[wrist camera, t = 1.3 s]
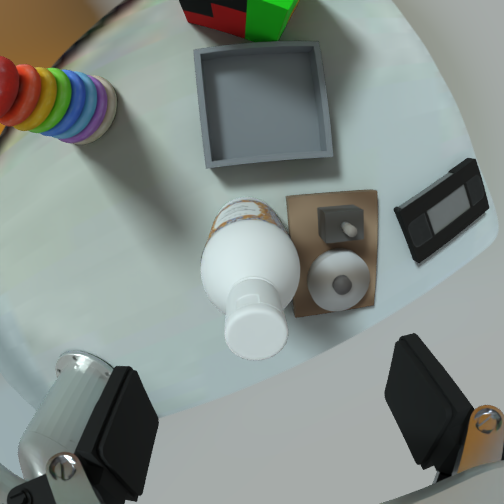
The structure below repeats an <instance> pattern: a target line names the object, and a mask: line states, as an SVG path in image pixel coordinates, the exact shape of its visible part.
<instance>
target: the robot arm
mask: <svg viewBox="0 0 504 504" xmlns="http://www.w3.org/2000/svg"><path fill="white" fill-rule="evenodd" d="M55 370H56V375H57V380H56V381H55V383H54V384H53V386H52V387H51V389H50V391H49V392H48V394H47V395H46V397H45V398H44V400H43V402H42V403H41V405H40V407H39V408H38V410H37V412H36V413H35V415H34V417H33V418H32V420H31V422H30V423H29V425H28V427H27V428H26V430H25V432H24V434H23V436H22V437H21V440H20V442H19V446H18V457H19V462H20V466H21V470H22V473H23V477H24V479H22V478H20V477H19V476H17V475H15V474H14V473H12V472H11V471H10V470H8V469H7V468H6V467H5V466H3V465H2V464H1V463H0V504H124V503H125V500H130V501H135V502H137V499H138V496H140V495H142V493H143V489H144V485H145V480H146V476H147V471H148V467H149V462H150V458H151V454H152V449H153V445H154V440H155V437H156V433H157V429H158V424H159V422H158V416H157V414H156V412H155V410H154V408H153V406H152V404H151V402H150V400H149V398H148V395H147V393H146V391H145V389H144V387H143V384H142V382H141V380H140V377H139V375H138V373H137V371H136V370H133V369H132V368H131V367H130V366H116V367H115V368H114V369H113V368H111V367H110V366H109V365H108V364H107V363H105V362H104V361H102V360H101V359H99V358H97V357H95V356H93V355H91V354H88V353H85V352H81V351H68V352H66V353H63V354H62V355H61V356H60V358H59V359H58V360H57V363H56V367H55ZM385 399H386V402H387V404H388V406H389V408H390V410H391V412H392V414H393V416H394V418H395V420H396V422H397V424H398V426H399V428H400V430H401V432H402V434H403V437H404V439H405V441H406V443H407V445H408V447H409V449H410V451H411V454H412V456H413V458H414V460H415V462H416V463H417V464H418V465H420V464H421V467H422V469H423V470H424V469H427V468H429V467H431V466H435V468H436V471H437V473H436V476H435V479H434V481H433V484H432V485H430V486H428V487H425V488H423V489H420V490H418V491H415V492H412V493H410V494H407V495H404V496H401V497H398V498H396V499H393V500H390V501H387V502H384V503H380V504H504V414H503V413H502V412H501V410H500V409H498V408H496V407H494V406H491V405H483V406H479V407H478V408H476V409H474V408H473V406H472V405H471V404H470V402H469V401H468V400H467V398H466V397H465V395H464V394H463V393H462V391H461V390H460V389H459V387H458V386H457V385H456V383H455V382H454V381H453V379H452V378H451V377H450V375H449V374H448V373H447V371H446V370H445V369H444V367H443V366H442V365H441V364H440V363H439V362H438V360H437V359H436V358H435V357H434V355H433V354H432V353H431V352H430V350H429V349H428V348H427V347H426V345H425V344H424V343H423V342H422V340H421V339H420V338H419V337H418V335H416V334H415V333H413V334H409V335H405V336H401V337H400V339H399V341H397V342H396V343H395V348H394V353H393V358H392V362H391V367H390V371H389V376H388V380H387V384H386V388H385Z"/></svg>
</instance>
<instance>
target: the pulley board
mask: <svg viewBox="0 0 504 504" xmlns="http://www.w3.org/2000/svg"><path fill="white" fill-rule="evenodd" d="M286 202H287V214H288V227H289V236H290V238H291V240H292V242H293V243H294V245H295V247H296V250H297V252H298V256H299V262H300V279H299V284H298V287H297V290H296V293H295V295H294V297H293V307H294V315H295V318H297V317H304V316H311V315H318V314H324V313H331V312H337V311H343V310H349V309H355V308H361V307H366V306H372V305H374V296H375V282H376V264H377V229H378V206H377V191H376V190H373V189H372V190H355V191H340V192H327V193H314V194H302V195H291V196H286Z"/></svg>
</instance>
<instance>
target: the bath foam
mask: <svg viewBox="0 0 504 504" xmlns="http://www.w3.org/2000/svg"><path fill="white" fill-rule="evenodd" d="M201 278H202V283H203V286H204V289H205V292H206V294H207V296H208V298H209V299H210V301H211V302H212V304H213V305H214V306H215V307H216V308H217V309H218V310H219V311H220V312H222V313H223V314H225V315H226V317H225V340H226V343H227V345H228V347H229V349H230V350H231V351H232V352H233V353H234V354H236V355H237V356H239V357H241V358H244V359H247V360H264V359H268V358H270V357H272V356H274V355H276V354H277V353H279V352H280V351H281V350H282V349H283V347H284V346H285V344H286V342H287V339H288V325H287V321H286V317H285V314H284V310H283V309H285V308H286V306H287V305H288V304H289V303H290V301H291V300H292V298H293V297H294V295H295V293H296V290H297V287H298V284H299V279H300V262H299V256H298V252H297V250H296V247H295V245H294V243H293V242H292V240H291V238H290V236H289V235H288V233H287V231H286V230H285V228H284V226H283V225H282V223H281V221H280V220H279V218H278V216H277V215H276V213H275V212H274V210H273V209H272V208H271V207H270V206H269V205H268V204H267V203H265V202H264V201H262V200H260V199H257V198H253V197H240V198H236V199H234V200H231V201H230V202H228V203H227V204H225V205H224V206H223V207H222V208H221V209H220V211H219V212H218V214H217V216H216V218H215V220H214V223H213V226H212V228H211V231H210V234H209V237H208V239H207V242H206V245H205V248H204V251H203V253H202V257H201Z"/></svg>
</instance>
